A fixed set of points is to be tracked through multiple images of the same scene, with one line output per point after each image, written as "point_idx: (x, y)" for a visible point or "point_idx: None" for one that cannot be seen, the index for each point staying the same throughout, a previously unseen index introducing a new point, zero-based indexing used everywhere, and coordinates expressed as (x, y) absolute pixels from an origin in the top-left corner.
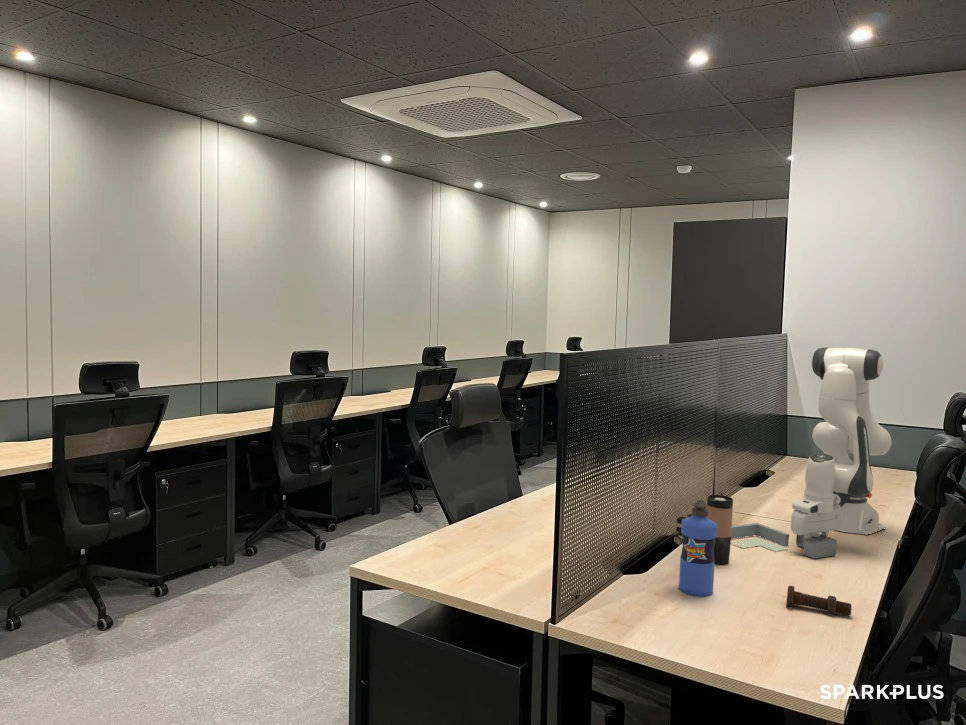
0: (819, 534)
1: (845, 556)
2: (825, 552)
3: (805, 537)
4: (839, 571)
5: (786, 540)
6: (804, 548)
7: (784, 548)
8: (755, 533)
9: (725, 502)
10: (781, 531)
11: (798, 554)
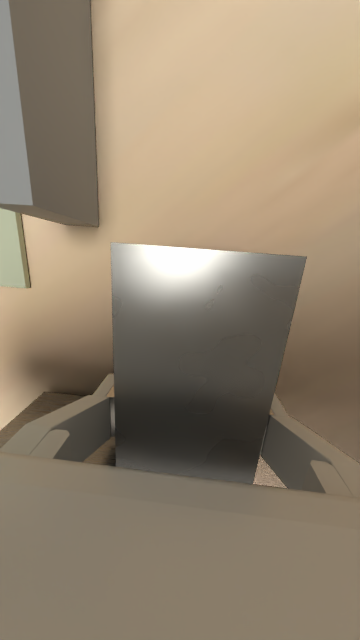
0: (233, 475)
1: (257, 482)
2: None
3: (59, 413)
4: None
5: (46, 217)
6: (13, 424)
7: (7, 270)
8: None
9: None
10: (11, 51)
11: (36, 365)
